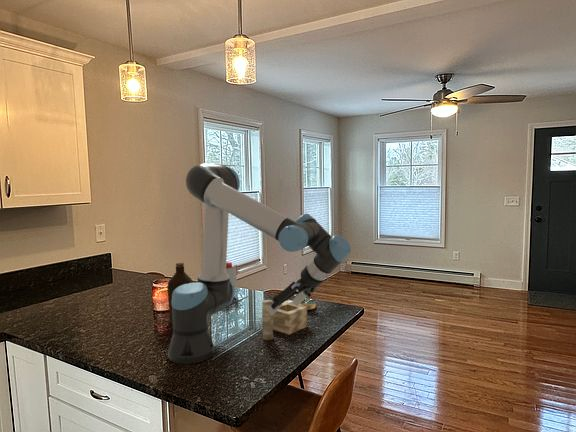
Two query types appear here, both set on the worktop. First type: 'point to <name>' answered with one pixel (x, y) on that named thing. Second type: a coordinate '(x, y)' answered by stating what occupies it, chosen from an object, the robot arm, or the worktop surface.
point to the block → (290, 318)
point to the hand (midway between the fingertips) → (282, 307)
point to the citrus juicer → (232, 274)
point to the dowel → (267, 321)
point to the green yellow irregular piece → (309, 306)
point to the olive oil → (177, 284)
